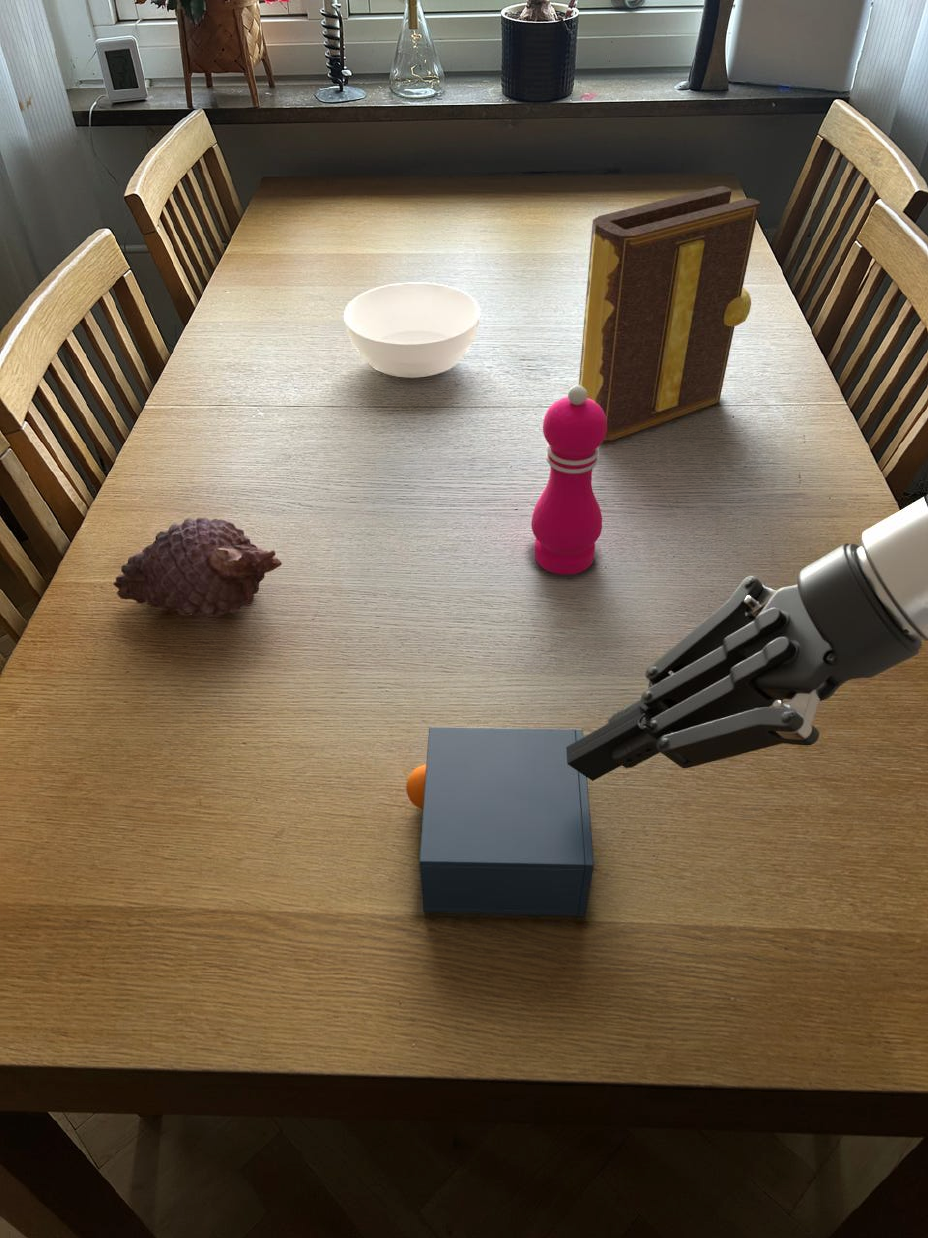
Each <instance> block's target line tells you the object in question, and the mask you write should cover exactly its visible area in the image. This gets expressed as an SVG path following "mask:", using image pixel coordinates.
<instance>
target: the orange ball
mask: <svg viewBox="0 0 928 1238" xmlns="http://www.w3.org/2000/svg"><path fill="white" fill-rule="evenodd" d="M425 776H426V764H423V765H420V766H418V767H416V768H414V770H413V771H412V772H411V773H410V774H409V776H408V778H407V780H406V787H405V788H406V790H405V791H406V795H407V797H408V799H409V801H410V802H411V804H413V805H414V806H415V807H416V808H418V809H420V810H423V804H424V790H425Z"/></svg>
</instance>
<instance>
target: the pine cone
mask: <svg viewBox="0 0 928 1238" xmlns="http://www.w3.org/2000/svg"><path fill="white" fill-rule="evenodd" d="M282 564H283V562H282V560H280V559H279V558H278V557H276V551H275V550H271V551H268V550H263V549H262V548H259V547H258V546H257V545H256V544H254V543H252V542H251V540H250V538H249V537H248V536H247V535H245V531H244V530H243V529H242V528H237V527H236V525H235V524H234V523H233V522H230V521H227V520H225V519H222V518H221V519H218V518H214V519H209V518H207V517H197V518H196V519H193V518H191V517H188V518H186V519H184V520H183V522H182V523H181V524H179V523H173V524H171V525H169V528H168V530H167V531H165V530H162V531H160V532H157V533H156V535H155V540H154V541H153V542H152V543H151V544H149V545H147V546H146V547H144V548H143V549H142V551H141V552H138V553H135V554H134V555H133V556H131V555H130V556H129V557H128V558H127V563H125V564H123V565H122V566H121V570H120V571H121V573H122V574H118V575H117V576H116V577H115V581H114V582H113V583H112V584H113V586H114V587H115V588H117V589H118V590H117V592H116V595H117V596H118V597H119V598H120V599H121V600H133V601H135V602H136V603H137V604H147V606H149V607H153V608H159V609H161V610H164V611H171V610H176V611H177V612H178V614H179V615H181V616H186V617H187V616H190V615H191V616H194V617H196V618H197V619H198V618H200V619H206V618H209V617H211V616H215V617H219V616H221V615H225V614H227V613H228V614H235V613H237V612H238V611H240V610H241V608H242V607H246V606H247V605H248V606H249V605H251V604H252V603H253V602H254V597H255V595H256V594H258V592H259V590H260V583H261V582H262V581H263V580H264V579H265V577H266V576H265V575H266V573H270V572H272V571H274V570H276V569H278V568H279V567H281V566H282Z"/></svg>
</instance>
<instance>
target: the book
mask: <svg viewBox="0 0 928 1238" xmlns="http://www.w3.org/2000/svg"><path fill="white" fill-rule="evenodd" d="M732 191H733V189H732V188H730V187H727V186H724V185H719V186H715V187H711V188H706V189H702V190H699V191H695V192H690V193H687V194H683V195H680V196H675V197H670V198H666V199H661V200H658V201H655V202H650V203H646V204H642V205H638V206H634V207H630V208H626V209H622V210H618V211H614V212H610V213H605V214H602V215H601V214H600V215H598V216H596V217H595V218H594V219H592V224H591V236H590V247H589V258H588V271H587V280H586V281H587V284H586V293H585V294H586V295H585V304H584V305H585V307H584V317H583V330H582V341H581V342H582V343H581V352H580V366H579V377H578V385H579V386H582V387H584V388H585V389H586V391H587V398H589V399H591V400H593V401H595V402H596V403H597V404H598V405H599V406H600V407H601V408H602V410H603V411H604V413H605V416H606V420H607V432H606V437H605V439H604V441H603V442H602V443H607V442H613V441H615V440H616V441H617V440H619V439H621V438H624V437H628V436H629V435H632V434H636V433H638V432H641V431H644V430H647V429H649V428H652V427H655V426H658V425H661V424H664V423H667V422H669V421H672V420H674V419H678V418H681V417H683V416H686V415H688V414H692V413H695V412H697V411H700V410H703V409H705V408H708V407H712V406H714V405H717V404H719V403H720V399H721V396H722V391H723V386H724V381H725V375H726V370H727V365H728V360H729V356H730V350H731V346H732V341H733V337H734V333H735V327H737V326H739V325H741V324H743V323H744V322H746V320H747V319H748V316H749V314H750V312H751V307H752V297H751V294H750V293H749V292H748V291H747V290H746V289H745V287H744V283H745V277H746V273H747V268H748V263H749V257H750V253H751V249H752V245H753V244H752V243H753V239H754V234H755V229H756V225H757V218H758V216H759V215H758V214H759V209H760V204H761V203H760V201H759V200H757V199H754V198H751V197H747V198H744V199H739V200H735V201H732V202H731V197H732Z"/></svg>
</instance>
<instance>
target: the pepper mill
mask: <svg viewBox="0 0 928 1238" xmlns="http://www.w3.org/2000/svg"><path fill="white" fill-rule="evenodd" d="M606 432H607V420H606V416H605V413H604V411H603V410H602V408H601V407H600V406H599V405H598V404H597V403H596V402H595V401H593V400H591V399H589V398H587V391H586V389H585V388H584V387H582V386H579V384H578V385H573V386H572V387H570V388H569V390H568V393H567V396H565V397H562V398H560V399H558V400H556V401H555V402H553V403H552V404H551V405H550V406H549V407H548V409H547V410H546V412H545V415H544V418H543V422H542V434H543V437H544V439H545V440H546V442H547V445H546V456H545V459H546V461H547V463H548V465H549V466H550V471H549V478H548V481H547V484H546V486H545V488H544V490H543V492H542V493H541V495H540V496H539V498H538V500H537V501H536V504H535V506H534V509H533V512H532V516H531V525H530V526H531V530H532V533H533V535H534V537H535V541H534V559H535V561H536V563H537V564H538V565H539V566H540V567H541V568H542V569H544V570H546V571H547V572H549V573H551V574H556V575H562V576H568V575H575V574H576V575H577V574H579V573H581V572H584V571H586V570H587V569H588V568H589V567H591V565H592V564H593V563H594V560H595V559H594V558H595V552H596V551H595V550H596V542H597V541H598V539H599V538H600V536H601V535H602V530H603V515H602V511H601V507H600V504H599V502H598V500H597V498H596V495H595V493H594V491H593V481H592V480H593V479H592V478H593V476H592V475H593V469H595V467H596V466H597V465H598V463H599V455H600V446H601V445H602V443H604V442H603V441H604V439H605V437H606Z"/></svg>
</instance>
